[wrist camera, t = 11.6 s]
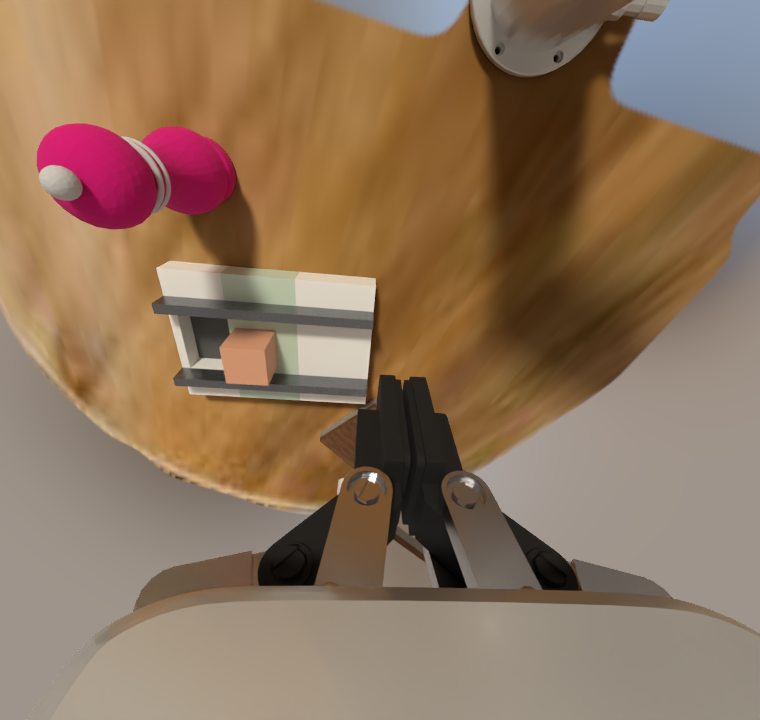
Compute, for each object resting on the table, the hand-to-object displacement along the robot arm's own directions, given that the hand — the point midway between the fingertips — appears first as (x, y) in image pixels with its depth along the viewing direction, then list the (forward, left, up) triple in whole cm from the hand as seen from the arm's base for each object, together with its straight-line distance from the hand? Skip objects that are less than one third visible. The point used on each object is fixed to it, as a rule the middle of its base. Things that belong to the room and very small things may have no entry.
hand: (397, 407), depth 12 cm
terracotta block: (+15, +14, -28) cm, 35 cm away
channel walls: (+13, +14, -28) cm, 34 cm away
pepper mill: (+19, -5, -31) cm, 37 cm away
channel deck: (+12, +14, -31) cm, 36 cm away
